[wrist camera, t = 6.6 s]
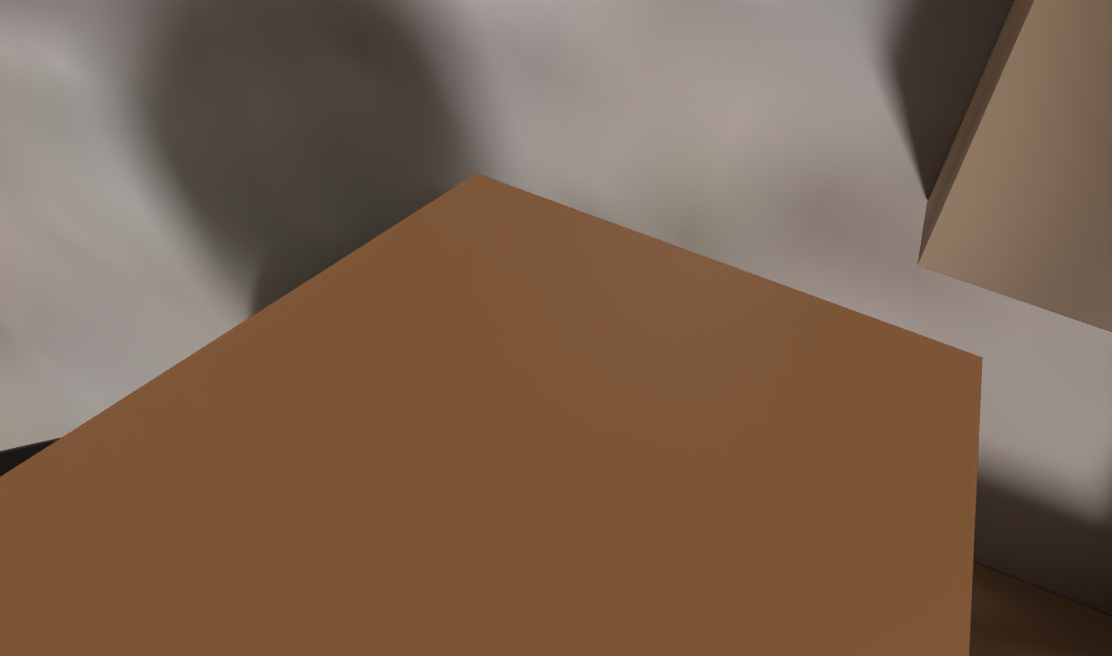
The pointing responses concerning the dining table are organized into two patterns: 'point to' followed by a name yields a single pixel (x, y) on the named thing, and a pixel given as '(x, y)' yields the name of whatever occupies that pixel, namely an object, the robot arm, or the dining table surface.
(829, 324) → the block
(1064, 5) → the notched board
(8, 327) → the dining table surface
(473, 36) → the dining table surface
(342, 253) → the dining table surface
